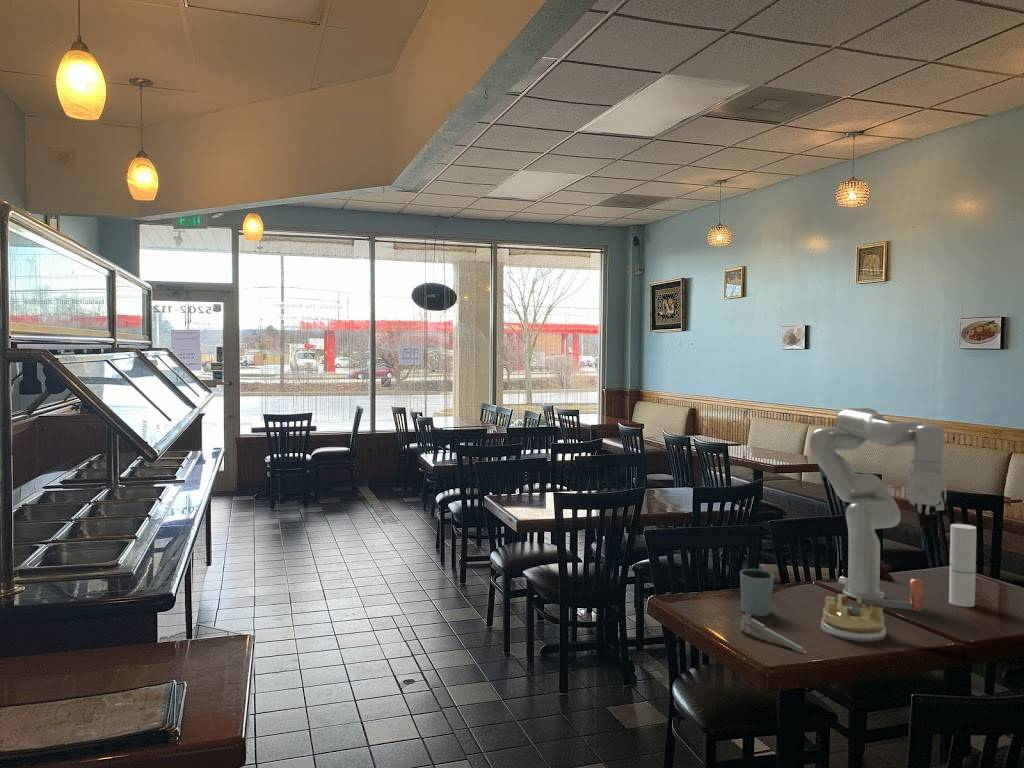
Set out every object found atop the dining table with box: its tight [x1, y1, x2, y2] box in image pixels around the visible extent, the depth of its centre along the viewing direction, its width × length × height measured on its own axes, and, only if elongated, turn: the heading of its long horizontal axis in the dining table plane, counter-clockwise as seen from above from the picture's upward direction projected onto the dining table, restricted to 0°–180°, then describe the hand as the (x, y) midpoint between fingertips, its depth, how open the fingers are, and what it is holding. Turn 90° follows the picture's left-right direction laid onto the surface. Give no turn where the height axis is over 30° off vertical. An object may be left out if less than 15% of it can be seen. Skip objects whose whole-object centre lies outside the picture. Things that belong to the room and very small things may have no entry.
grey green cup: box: [739, 568, 775, 617], centre depth 232 cm, size 10×10×12 cm
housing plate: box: [820, 617, 887, 643], centre depth 216 cm, size 17×17×2 cm
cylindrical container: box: [948, 523, 977, 608], centre depth 241 cm, size 7×7×25 cm
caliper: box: [740, 612, 808, 655], centre depth 207 cm, size 20×1×6 cm, turn 37°
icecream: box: [880, 559, 894, 581], centre depth 273 cm, size 7×7×15 cm
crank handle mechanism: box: [822, 577, 924, 633], centre depth 215 cm, size 21×21×14 cm
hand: (925, 526), depth 225 cm, fingers closed
